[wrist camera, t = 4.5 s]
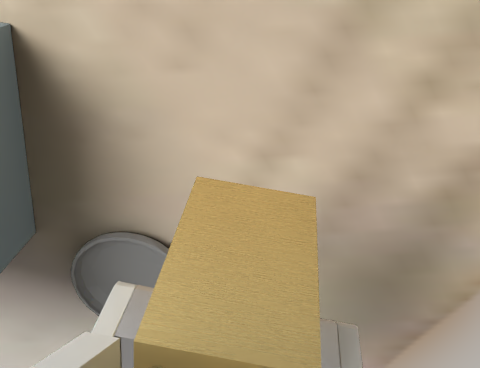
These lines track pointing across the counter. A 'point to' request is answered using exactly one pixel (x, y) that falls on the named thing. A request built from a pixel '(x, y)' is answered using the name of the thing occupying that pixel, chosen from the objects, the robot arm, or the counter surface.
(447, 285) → the counter surface
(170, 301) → the tan wooden block
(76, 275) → the pocket watch
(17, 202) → the blue grey rectangular container
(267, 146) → the counter surface
